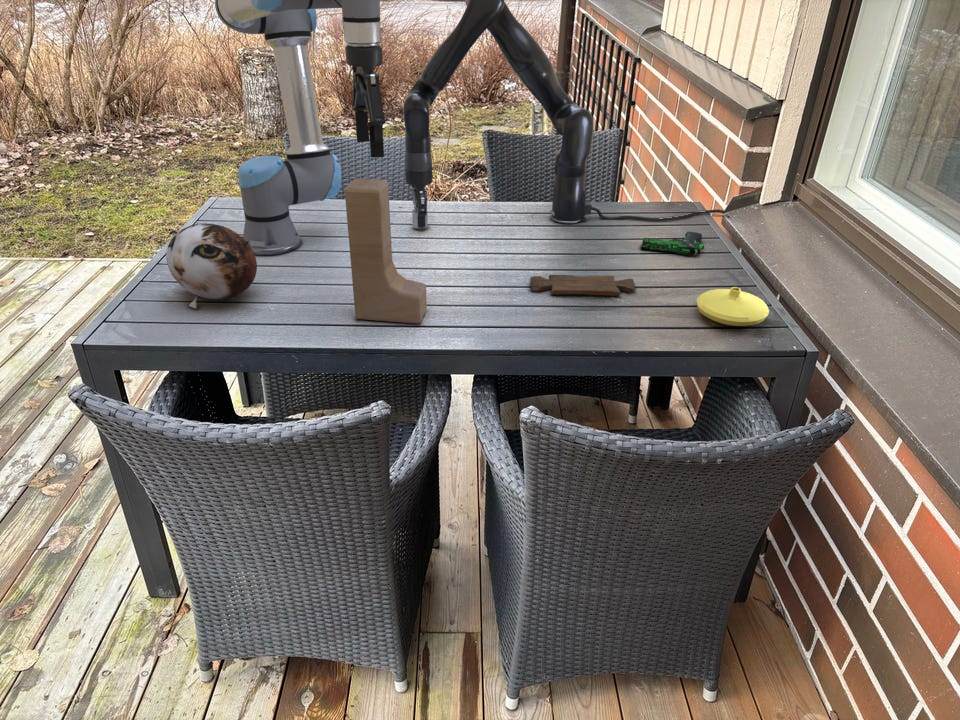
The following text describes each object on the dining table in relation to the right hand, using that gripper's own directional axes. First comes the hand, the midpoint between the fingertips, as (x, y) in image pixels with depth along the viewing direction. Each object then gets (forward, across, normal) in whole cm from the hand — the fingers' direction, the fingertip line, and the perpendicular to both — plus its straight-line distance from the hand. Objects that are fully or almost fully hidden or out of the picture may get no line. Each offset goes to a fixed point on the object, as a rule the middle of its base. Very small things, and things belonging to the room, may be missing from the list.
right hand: (420, 224), depth 210 cm
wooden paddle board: (+1, +48, +33) cm, 59 cm away
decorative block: (+1, +55, -14) cm, 56 cm away
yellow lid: (+1, +70, +61) cm, 93 cm away
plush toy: (+1, +37, -53) cm, 65 cm away
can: (0, 0, 0) cm, 0 cm away
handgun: (+1, +27, +68) cm, 73 cm away
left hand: (-32, +40, -16) cm, 53 cm away
